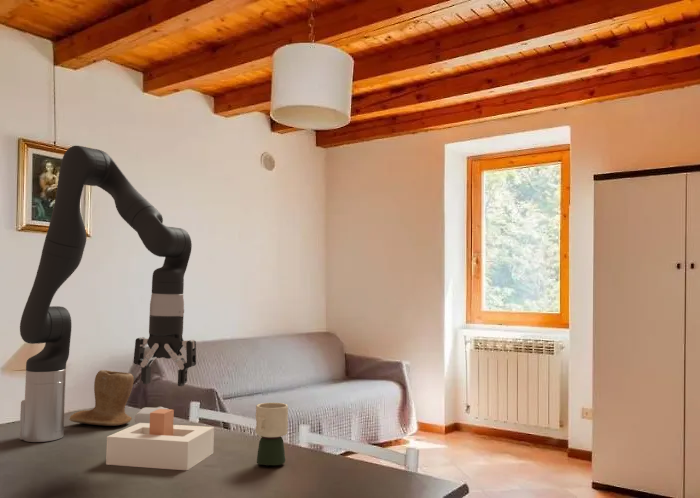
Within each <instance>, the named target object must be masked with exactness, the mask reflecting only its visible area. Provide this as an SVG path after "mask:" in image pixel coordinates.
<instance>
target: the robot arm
mask: <svg viewBox="0 0 700 498" xmlns="http://www.w3.org/2000/svg"><path fill="white" fill-rule="evenodd" d="M116 163H117V162H115V161H114V159H113V158H112V157H111V156H110V155H109V154H108V153H107V152H105V151H103V150H100V149H97V148H91V147H86V146H82V145H73V146H70V147H69V148H68V149H67V150H66V151H65V152H64V154H63V156H62V158H61V163H60V167H59V172H58V179H57V186H56V187H57V188H56V193H55V198H54V203H53V209H52V214H51V217H50V221H49V225H48V229H47V231H46V235H45V239H44V242H43V246H42V249H41V256H40V260H39V263H38V266H37V272H36V273H35V276H34V277H35V278H34V281H33V285H32V288H31V289H30V293H29V295H28V298H27V301H26V303H25V306H24V308H23V312H22V315H21V318H20V324H19V334H20V337H21V339H22V340H23V342H25V343H27V344H44V347H43V349H41V351H40V352H38V353H36V354H35V355H33V356H31V357H29V358H28V359H27V360H26V363H25V385H24V386H25V388H24V399H23V400H21V401H20V413H19V415H20V416H19V418H20V419H19V440H22V441H24V442H27V443H28V442H30V443H43V442H50V441H56V440H60V439H62V438H63V437H64V435H65V434H64V430H65V407H66V402H65V401H66V375H67V373H66V372H67V362H68V359H69V356H70V351H71V350H70V349H71V336H72V317H71V314H70V312H69V310H68V309H67V308H66V307H64V306H57V305H55V306H51V304H52V300H53V299H54V296H55V295H56V293H57V292H58V290H59V289H60V288H61V286H62V285H63V284H64V283H65V282H66V281H67V280H68V279H69V278H70V277H71V276H72V274H74V273H75V271H77V269H78V267H79V266H80V263H81V262H82V259H83V255H84V252H85V247H86V244H87V243H86V242H87V231H86V228H85V223H84V220H83V217H82V212H81V206H80V205H81V198H82V194H83V190H84V187H85V186H89V187H90V186H92V187H99V188H100V189H102V190H103V191H105V192H106V193H108V195H109V196H111V197H112V199H113V201H114V204H115V208H116V211H117V213H118V214H119V216H120V217H121V218H122V220H123V221H124V222H125V223H127V224H128V226H130V228H132V229H133V230H134V231H136V232H137V235H138V237H139V239H140V240H141V242H142V244H143V246H144V247H145V248H146V249H147V251H149V252H150V253H151V254H152V255H154V256H156V257H159V258H164V261H163V263H162V266H161V267H158V268H156V269H154V271H153V273H152V276H151V277H152V279H151V295H150V301H149V302H150V303H149V319H148V320H149V322H148V334H149V337H148V338H146V337H144V336H142V337H138V338H136V339H135V341H134V343H135V344H134V350H133V351H134V352H133V360H132V361H133V364H134V365H138V366H139V367H140V369H141V371H140V374H141V375H140V379H141V380H140V381H141V382H142V384H144V385H148V384H150V383H151V375H152V372H151V371H152V367H151V365H152V363H153V362H154V360H156V359H161V358H164V359H167V360H168V359H169V360H170V359H172V360H173V362H174V363H175V364H176V365H177V367H178V368H179V369H178V371H177V387H184V386H185V385H186V384H187V381H188V369H189V368H192V367H195V366H196V365H197V342H196V340H195V339H190V340H184V338H183V333H184V313H185V301H184V287H185V286H184V285H185V282H184V281H185V280H184V277H185V273H186V271H187V268H188V266H189V265H188V264H189V262H190V261H189V260H190V258H191V253H192V247H193V246H192V245H193V244H192V239H191V236H190V234H189V232H188V231H187V230H185V229H183V228H181V227H174V226H167V225H166V224H164V223H163V222H164V219H163V218H164V217H163V215H162V214H161V212H160V211H159V210H158V209H157V208H155V206H153V204H152V203H151V202H149V201H148V200H147V199H146V198H145V197H144V196H143V195H142V194H141V193H140V192H139V191H138V190H137V189H136V188H135V187H134V186H133V184H132V183H131V182H130V181H129V180H128V178H127V177H126V175H125V174H124V173H123V172H122V170H121V169H120V168H119V166H118V165H117V164H116ZM136 232H135V233H136ZM147 345H148V348H149V351H148V352H147V354H146V355H145V352H146V351H145V349H146V347H147ZM183 347H184V350H186V352H185V353H186V357H185V355H184V354H183V352H182V348H183Z"/></svg>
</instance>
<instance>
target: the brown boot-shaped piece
mask: <svg viewBox="0 0 700 498" xmlns="http://www.w3.org/2000/svg"><path fill="white" fill-rule="evenodd" d="M134 381H135V379H134V376H133V374H132V373H130V372H124V371H123V372H122V371H115V370H113V371H112V370H106V369H100V370H98V372H97V373H96V375H95V377H94V382H93V384H94V385H93V389H94V407H93V408H92V409H87V410H80V411H77V412H75V413H73V414H71V415H70V416H69V419H68V420H69V421H70V422H72V423H73V422H74V423H77V424H84V425H91V426H102V427H103V426H105V427H107V426H108V427H110V426H120V425H121V426H122V425H126V424H128V423H130V422H131V421H132V416H130V415H128V414H127V413H126V410H125V409H126V405H127V403H128V400H129V399H130V396H131V393H132V391H133V387H134Z"/></svg>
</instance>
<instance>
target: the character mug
mask: <svg viewBox="0 0 700 498" xmlns="http://www.w3.org/2000/svg"><path fill="white" fill-rule="evenodd" d="M288 414H289V406H288V404H287V403H283V402H262V403H258V404H256V405H255V434H257V436H259V437H260V440H259V442H258V449H257V455H256V456H257V457H256V464H257V465H265V466H266V467H267V468H268V467H269V466H281V465H283V464H285V463H286V454H285V453H286V451H285V443H284V439H283V436H286V435H288V430H289V429H288V427H289V425H288V424H289V421H288V419H289V415H288Z"/></svg>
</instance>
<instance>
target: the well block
mask: <svg viewBox="0 0 700 498" xmlns="http://www.w3.org/2000/svg"><path fill="white" fill-rule="evenodd" d="M149 430H150V423H138V424H136V425H135V424H134V425H133V424H132V425H131V426H129V427H126V428H124V429H122V430H120V431H117V432H114V433H113V434H110V435H107V436H106V455H105V456H106V459H105V465H107V466H108V465H109V466H110V465H111V466H121V467H135V468H149V469H150V468H151V469H163V470H174V471H175V470H178V471H188V470H190V469H192V468H193V467H195V466H196V465H198V464H199V463H201V462H202V461H204V460H206V458H209V457H210V456H211V455H213V454H214V444H215V443H214V442H215V441H214V440H215V427H214V426H204V425H203V426H201V425H187V424H186V425H181V424H173V436H166V435H150V434H149Z"/></svg>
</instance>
